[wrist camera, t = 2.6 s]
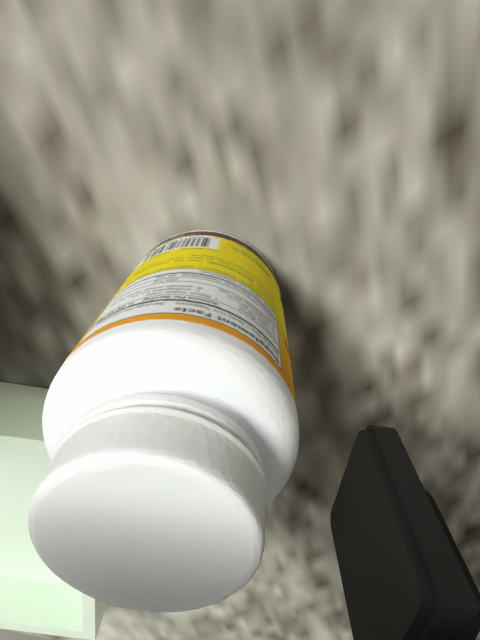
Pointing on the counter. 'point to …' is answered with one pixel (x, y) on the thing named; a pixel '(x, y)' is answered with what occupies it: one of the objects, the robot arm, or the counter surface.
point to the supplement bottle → (170, 431)
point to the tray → (13, 533)
